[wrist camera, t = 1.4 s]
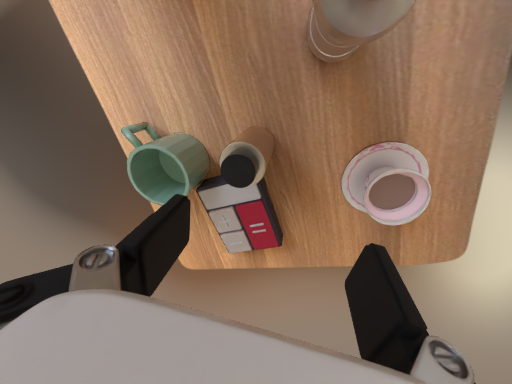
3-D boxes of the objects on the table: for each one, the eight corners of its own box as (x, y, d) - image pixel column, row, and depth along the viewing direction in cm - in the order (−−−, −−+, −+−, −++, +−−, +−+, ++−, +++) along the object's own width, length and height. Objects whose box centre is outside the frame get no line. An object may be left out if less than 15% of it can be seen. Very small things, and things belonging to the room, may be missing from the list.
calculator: (227, 256, 41) (192, 191, 34) (233, 241, 45) (202, 179, 38) (282, 249, 38) (255, 176, 31) (283, 233, 41) (259, 164, 35)
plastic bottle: (318, 74, 28) (352, 61, 10) (296, 20, 26) (291, -113, 8) (369, 43, 25) (525, -43, 8) (349, -20, 23) (502, -327, 6)
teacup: (333, 155, 32) (340, 169, 27) (425, 129, 28) (455, 140, 23) (347, 218, 37) (356, 242, 31) (428, 203, 33) (454, 227, 28)
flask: (233, 147, 35) (205, 176, 24) (251, 118, 32) (228, 136, 21) (261, 167, 35) (245, 203, 25) (281, 140, 33) (273, 167, 22)
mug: (220, 167, 37) (202, 187, 30) (184, 192, 40) (161, 215, 33) (168, 102, 33) (134, 107, 26) (135, 136, 37) (96, 149, 30)
